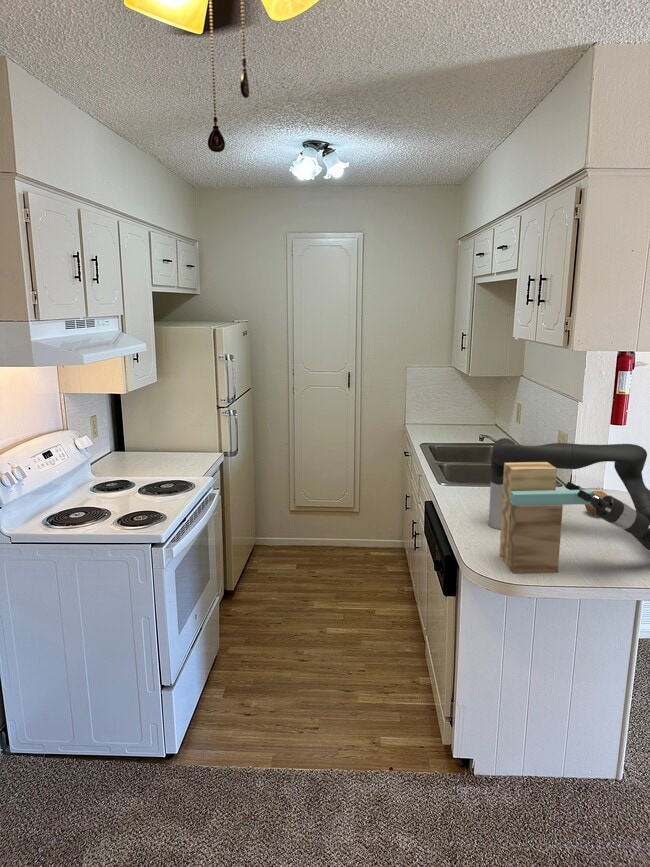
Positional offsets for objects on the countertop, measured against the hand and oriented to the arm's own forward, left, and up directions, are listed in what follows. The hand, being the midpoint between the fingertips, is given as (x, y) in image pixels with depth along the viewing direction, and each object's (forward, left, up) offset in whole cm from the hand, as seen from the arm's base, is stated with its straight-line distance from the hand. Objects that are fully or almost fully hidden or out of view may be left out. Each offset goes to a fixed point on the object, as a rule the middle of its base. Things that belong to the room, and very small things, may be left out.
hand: (572, 488), depth 183 cm
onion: (-48, +32, -27) cm, 63 cm away
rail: (0, -7, -5) cm, 8 cm away
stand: (-8, -11, -27) cm, 30 cm away
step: (0, -11, -27) cm, 29 cm away
